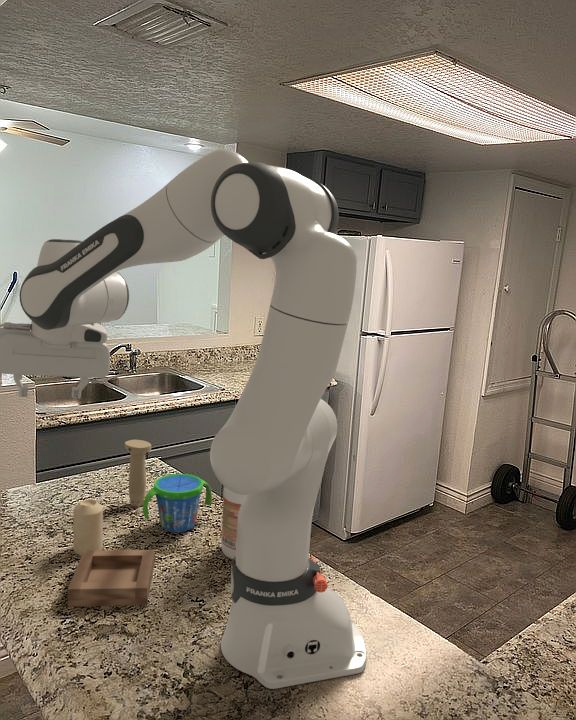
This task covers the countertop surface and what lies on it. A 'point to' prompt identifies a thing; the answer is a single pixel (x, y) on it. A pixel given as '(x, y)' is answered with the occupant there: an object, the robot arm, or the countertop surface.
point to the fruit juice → (230, 521)
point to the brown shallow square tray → (112, 578)
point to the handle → (137, 470)
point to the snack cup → (177, 501)
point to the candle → (88, 526)
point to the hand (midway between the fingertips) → (49, 396)
